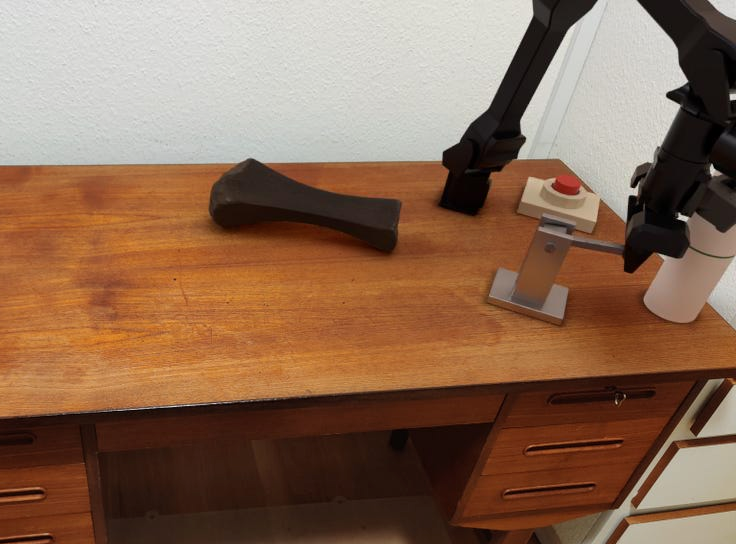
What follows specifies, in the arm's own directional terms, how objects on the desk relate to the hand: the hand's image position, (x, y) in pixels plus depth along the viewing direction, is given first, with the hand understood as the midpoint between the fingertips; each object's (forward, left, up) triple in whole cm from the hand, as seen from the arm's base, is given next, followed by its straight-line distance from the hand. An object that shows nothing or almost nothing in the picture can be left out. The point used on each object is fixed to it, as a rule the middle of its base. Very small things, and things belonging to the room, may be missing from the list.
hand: (628, 265), depth 93 cm
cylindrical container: (+9, +9, -9) cm, 16 cm away
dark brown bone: (-44, 0, -9) cm, 45 cm away
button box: (-9, +29, -9) cm, 32 cm away
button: (-9, +29, -5) cm, 31 cm away
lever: (-5, 0, 0) cm, 5 cm away
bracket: (-10, 0, -9) cm, 13 cm away
